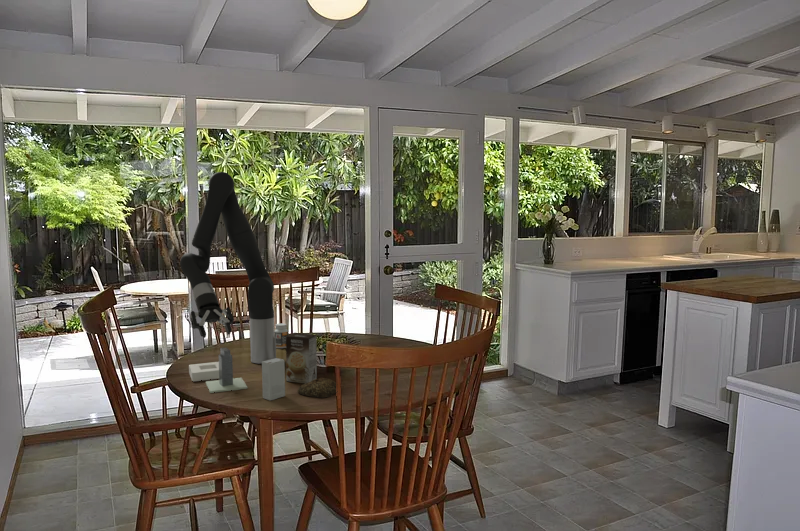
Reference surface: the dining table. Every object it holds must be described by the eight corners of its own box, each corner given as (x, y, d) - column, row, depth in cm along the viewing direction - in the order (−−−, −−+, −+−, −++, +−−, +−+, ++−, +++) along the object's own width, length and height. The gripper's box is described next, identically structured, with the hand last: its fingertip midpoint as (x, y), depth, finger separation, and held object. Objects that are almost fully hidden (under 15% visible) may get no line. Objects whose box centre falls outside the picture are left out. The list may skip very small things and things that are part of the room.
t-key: (229, 381, 209) (228, 347, 208) (233, 385, 205) (232, 350, 204) (218, 383, 207) (217, 348, 206) (222, 386, 203) (221, 351, 202)
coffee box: (285, 381, 211) (284, 336, 209) (294, 376, 217) (293, 332, 215) (309, 384, 208) (308, 337, 206) (317, 379, 214) (317, 334, 212)
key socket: (223, 369, 227) (222, 361, 226) (227, 377, 216) (227, 369, 216) (189, 372, 222) (188, 364, 222) (192, 381, 211) (192, 373, 211)
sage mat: (241, 379, 214) (241, 377, 214) (247, 388, 203) (247, 386, 203) (205, 383, 209) (205, 381, 209) (210, 393, 198) (209, 391, 198)
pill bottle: (285, 349, 258) (284, 325, 257) (272, 348, 260) (272, 325, 259) (290, 345, 264) (289, 323, 263) (277, 345, 265) (277, 322, 264)
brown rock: (322, 401, 191) (322, 385, 191) (292, 394, 198) (292, 379, 197) (346, 390, 202) (346, 375, 201) (317, 384, 208) (317, 370, 208)
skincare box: (277, 393, 197) (276, 357, 196) (286, 396, 194) (285, 359, 193) (261, 398, 193) (260, 360, 191) (270, 401, 190) (269, 363, 189)
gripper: (187, 293, 214) (198, 331, 205) (227, 290, 222) (239, 326, 213) (183, 306, 218) (194, 343, 210) (223, 302, 226) (234, 338, 218)
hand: (217, 334), depth 212 cm, fingers open, 8 cm apart
